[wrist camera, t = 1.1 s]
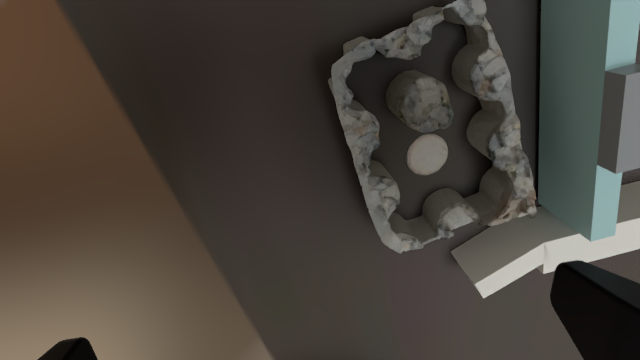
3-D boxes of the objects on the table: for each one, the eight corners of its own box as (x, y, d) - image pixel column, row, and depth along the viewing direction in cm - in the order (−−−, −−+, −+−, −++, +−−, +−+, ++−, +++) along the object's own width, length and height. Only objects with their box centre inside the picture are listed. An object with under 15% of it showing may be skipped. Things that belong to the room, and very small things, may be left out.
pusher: (537, 202, 22) (607, 253, 18) (541, -37, 17) (639, -50, 13) (558, 197, 22) (632, 247, 18) (568, -43, 17) (675, -59, 13)
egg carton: (498, 188, 22) (544, 226, 19) (371, 233, 23) (392, 279, 19) (469, -13, 18) (522, -16, 14) (310, 45, 18) (322, 56, 14)
